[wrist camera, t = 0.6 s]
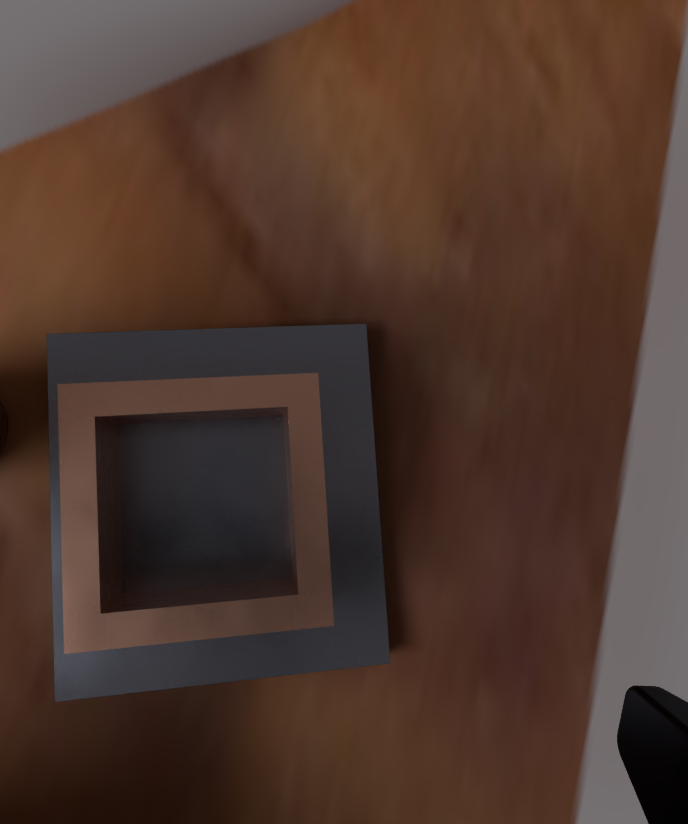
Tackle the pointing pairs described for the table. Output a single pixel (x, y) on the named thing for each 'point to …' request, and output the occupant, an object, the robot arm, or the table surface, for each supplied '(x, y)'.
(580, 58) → the table surface
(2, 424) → the gold metallic cylinder
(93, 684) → the frame
